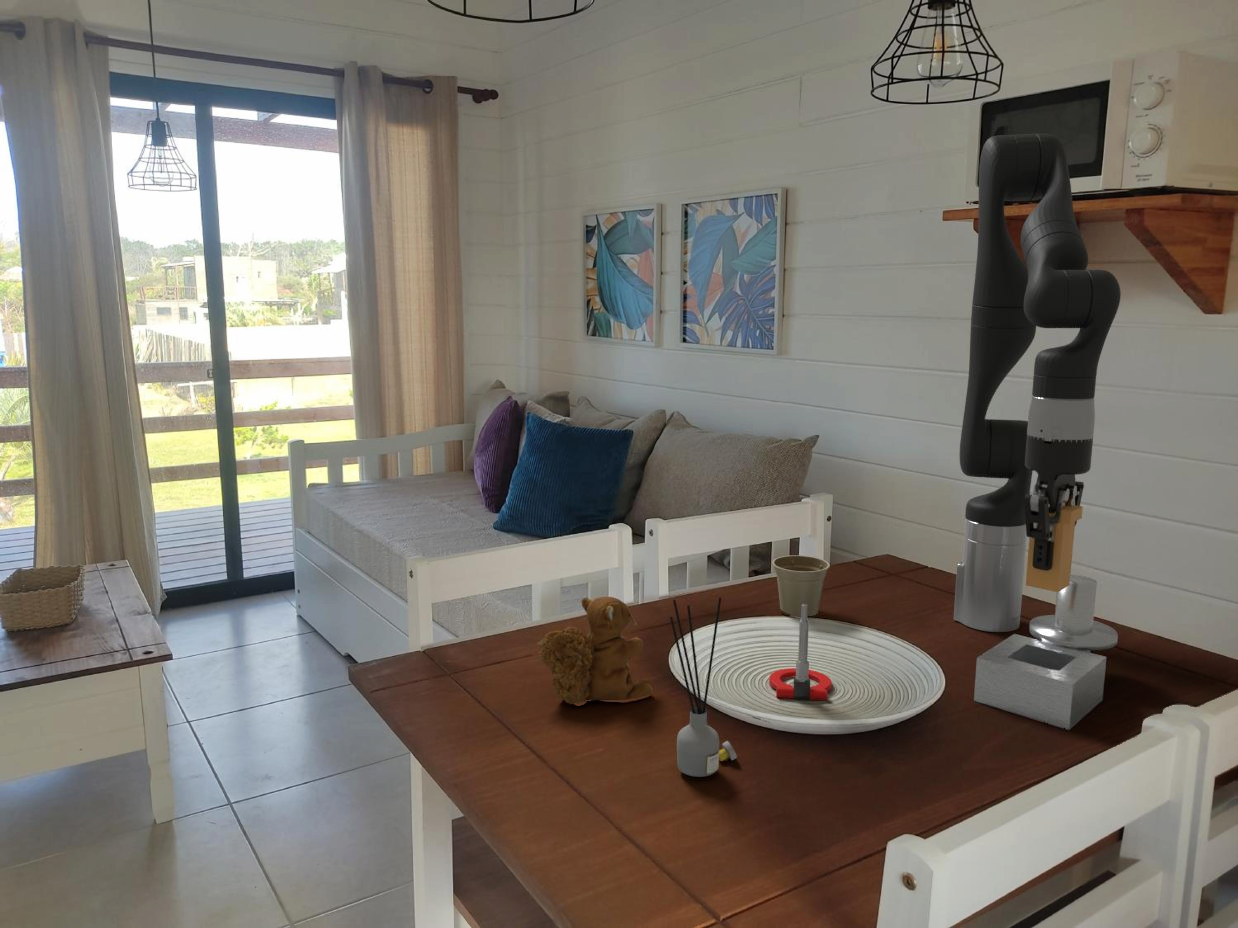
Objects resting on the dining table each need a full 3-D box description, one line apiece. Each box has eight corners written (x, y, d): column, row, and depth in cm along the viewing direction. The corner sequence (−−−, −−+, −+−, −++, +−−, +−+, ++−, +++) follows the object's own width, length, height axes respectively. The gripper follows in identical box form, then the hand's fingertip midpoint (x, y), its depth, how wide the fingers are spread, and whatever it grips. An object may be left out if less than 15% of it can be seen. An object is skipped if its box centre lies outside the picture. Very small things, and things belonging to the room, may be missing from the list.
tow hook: (768, 674, 132) (769, 699, 123) (771, 586, 131) (772, 604, 122) (829, 677, 131) (834, 703, 122) (832, 589, 129) (838, 608, 120)
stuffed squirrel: (659, 696, 124) (659, 602, 122) (566, 722, 117) (564, 622, 115) (619, 671, 133) (619, 582, 130) (530, 693, 125) (528, 600, 123)
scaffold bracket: (973, 700, 122) (980, 598, 120) (1040, 653, 138) (1047, 562, 136) (1069, 730, 114) (1078, 621, 112) (1128, 676, 130) (1137, 580, 127)
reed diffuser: (687, 795, 100) (689, 618, 96) (642, 772, 105) (642, 602, 101) (747, 762, 107) (751, 595, 103) (701, 742, 112) (703, 582, 108)
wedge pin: (1019, 584, 120) (1025, 504, 118) (1032, 577, 123) (1038, 499, 121) (1064, 593, 116) (1071, 511, 114) (1075, 586, 119) (1082, 506, 117)
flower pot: (833, 622, 152) (835, 571, 150) (775, 622, 152) (776, 571, 150) (821, 603, 161) (823, 555, 159) (767, 603, 161) (768, 555, 160)
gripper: (1050, 424, 124) (1040, 548, 127) (1006, 436, 114) (996, 571, 117) (1111, 429, 118) (1099, 559, 122) (1070, 442, 109) (1058, 583, 112)
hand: (1048, 564), depth 119 cm, fingers closed on wedge pin, 4 cm apart
